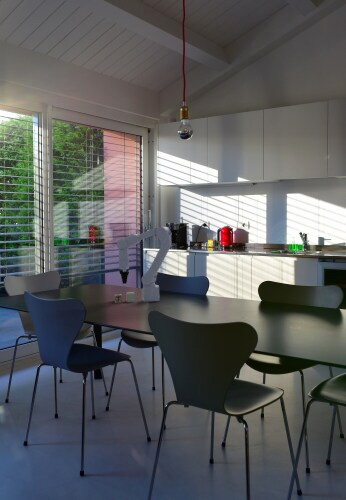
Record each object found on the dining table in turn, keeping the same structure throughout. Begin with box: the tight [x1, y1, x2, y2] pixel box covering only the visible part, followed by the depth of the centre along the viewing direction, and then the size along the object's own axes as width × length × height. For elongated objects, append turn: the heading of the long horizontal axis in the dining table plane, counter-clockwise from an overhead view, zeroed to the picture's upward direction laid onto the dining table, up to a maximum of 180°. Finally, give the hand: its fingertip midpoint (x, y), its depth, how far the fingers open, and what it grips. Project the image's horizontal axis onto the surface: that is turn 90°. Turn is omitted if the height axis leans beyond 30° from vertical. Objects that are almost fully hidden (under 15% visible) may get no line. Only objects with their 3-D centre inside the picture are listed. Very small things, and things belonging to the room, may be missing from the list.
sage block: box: [125, 291, 136, 303], centre depth 298 cm, size 4×4×5 cm
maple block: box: [113, 293, 123, 304], centre depth 298 cm, size 4×4×7 cm
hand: (124, 282), depth 304 cm, fingers open, 7 cm apart
